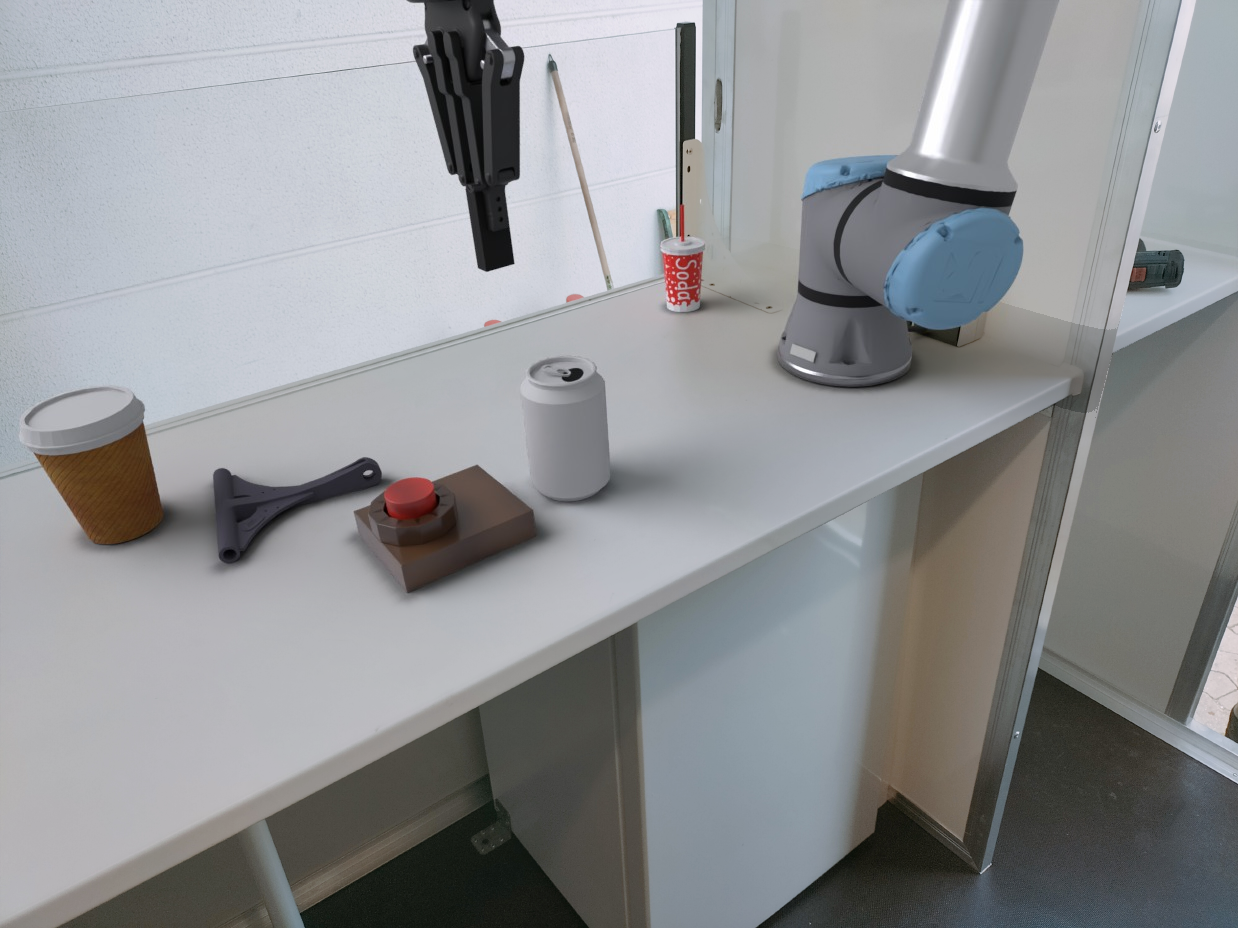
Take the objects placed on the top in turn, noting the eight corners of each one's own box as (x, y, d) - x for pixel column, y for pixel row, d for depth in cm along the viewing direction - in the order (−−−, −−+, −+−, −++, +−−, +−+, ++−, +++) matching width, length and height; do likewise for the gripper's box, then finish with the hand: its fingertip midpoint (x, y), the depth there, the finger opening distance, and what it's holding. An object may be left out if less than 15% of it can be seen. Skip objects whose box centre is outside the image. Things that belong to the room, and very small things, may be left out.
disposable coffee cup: (190, 531, 76) (145, 412, 70) (70, 569, 72) (12, 446, 66) (174, 485, 83) (133, 373, 77) (64, 518, 79) (11, 402, 73)
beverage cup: (656, 313, 117) (654, 210, 110) (667, 298, 122) (664, 199, 115) (700, 315, 116) (700, 211, 109) (709, 300, 121) (709, 199, 114)
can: (601, 509, 76) (593, 388, 70) (521, 503, 78) (506, 384, 71) (618, 466, 82) (611, 351, 76) (543, 461, 84) (531, 348, 78)
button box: (481, 488, 80) (474, 447, 78) (536, 536, 73) (531, 492, 71) (359, 536, 74) (348, 493, 72) (407, 593, 67) (396, 547, 65)
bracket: (398, 518, 76) (392, 492, 75) (221, 565, 71) (212, 538, 70) (369, 449, 88) (364, 425, 87) (215, 486, 83) (207, 461, 82)
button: (424, 489, 73) (421, 471, 72) (445, 509, 70) (442, 491, 69) (380, 506, 71) (376, 488, 70) (400, 527, 68) (396, 509, 67)
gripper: (360, -57, 62) (421, 261, 74) (442, -68, 53) (496, 296, 65) (452, -62, 66) (495, 241, 78) (544, -74, 56) (577, 271, 69)
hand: (496, 265), depth 71 cm, fingers closed
